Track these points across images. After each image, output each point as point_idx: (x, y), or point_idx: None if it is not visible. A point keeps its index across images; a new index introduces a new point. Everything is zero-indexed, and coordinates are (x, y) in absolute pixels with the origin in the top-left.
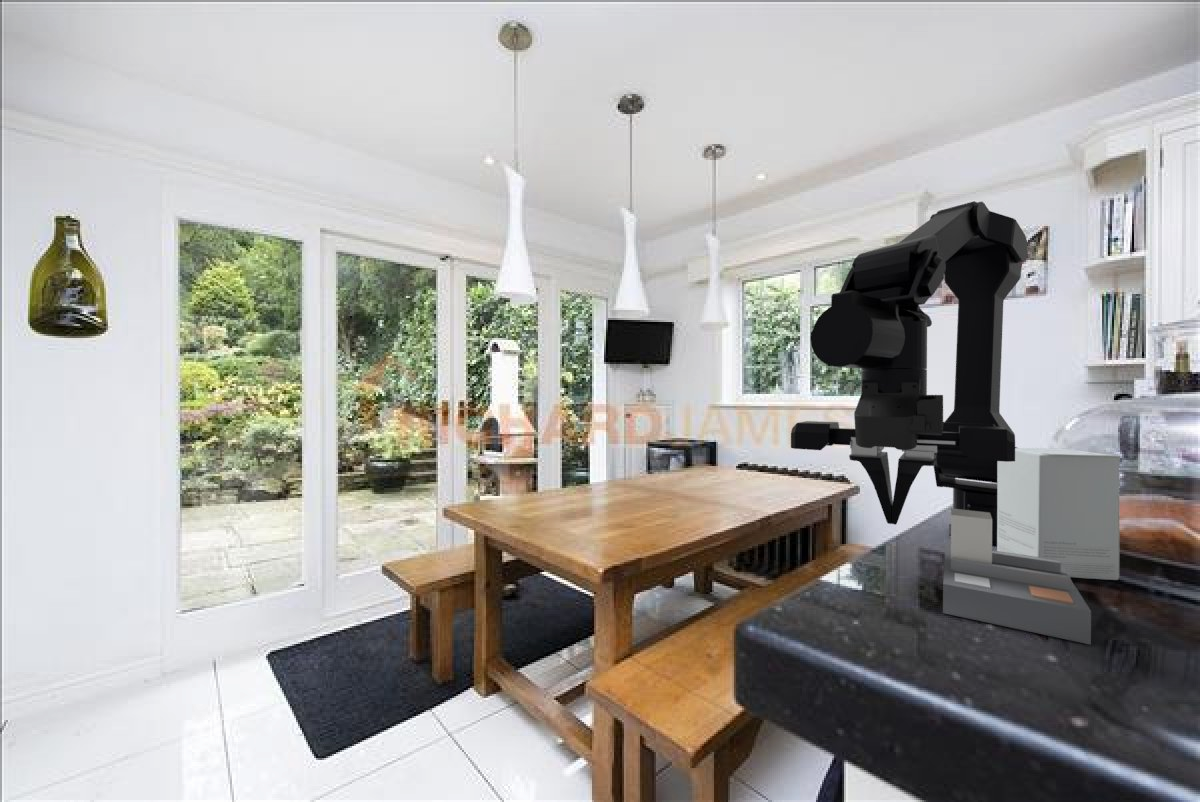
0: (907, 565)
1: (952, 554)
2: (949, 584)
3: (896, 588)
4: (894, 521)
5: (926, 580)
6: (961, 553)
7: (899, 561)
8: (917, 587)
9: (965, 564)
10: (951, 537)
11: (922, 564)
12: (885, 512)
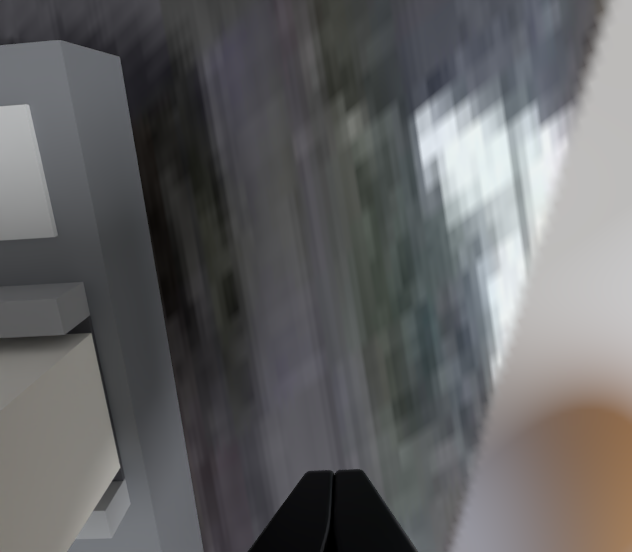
0: None
1: (56, 357)
2: (38, 52)
3: (303, 225)
4: (316, 476)
5: (231, 384)
6: (12, 364)
7: None
8: (243, 288)
9: (6, 297)
10: (5, 401)
11: None
12: (375, 507)
